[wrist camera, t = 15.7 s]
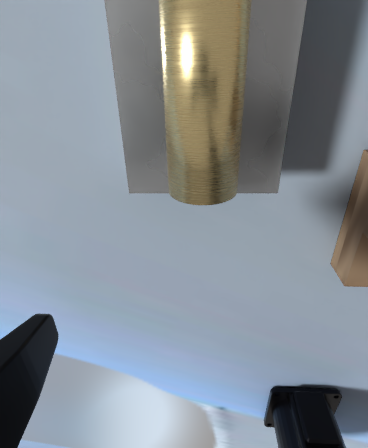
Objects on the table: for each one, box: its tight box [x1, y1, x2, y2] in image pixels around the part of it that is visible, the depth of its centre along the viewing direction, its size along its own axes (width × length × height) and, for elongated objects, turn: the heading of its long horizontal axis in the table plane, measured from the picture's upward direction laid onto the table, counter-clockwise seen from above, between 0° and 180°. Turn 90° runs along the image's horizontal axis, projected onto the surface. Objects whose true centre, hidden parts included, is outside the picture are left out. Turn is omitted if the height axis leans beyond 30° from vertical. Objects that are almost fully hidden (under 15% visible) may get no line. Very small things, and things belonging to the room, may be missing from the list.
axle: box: [159, 0, 252, 205], centre depth 10 cm, size 10×3×3 cm, turn 1°
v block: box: [105, 0, 307, 193], centre depth 13 cm, size 12×8×4 cm, turn 1°
